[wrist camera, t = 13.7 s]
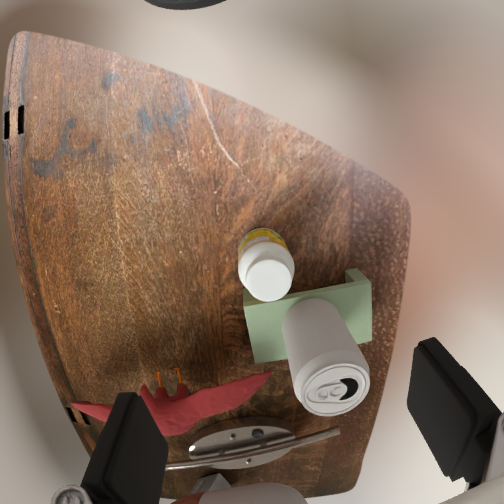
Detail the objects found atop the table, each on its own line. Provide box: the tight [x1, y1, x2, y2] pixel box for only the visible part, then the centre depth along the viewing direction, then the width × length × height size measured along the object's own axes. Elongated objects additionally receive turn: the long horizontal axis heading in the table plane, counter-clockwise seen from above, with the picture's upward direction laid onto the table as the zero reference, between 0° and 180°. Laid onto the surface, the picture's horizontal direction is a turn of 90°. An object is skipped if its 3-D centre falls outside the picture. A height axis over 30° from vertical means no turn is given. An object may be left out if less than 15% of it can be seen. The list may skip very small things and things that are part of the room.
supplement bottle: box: [238, 228, 295, 302], centre depth 33 cm, size 5×5×10 cm
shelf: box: [243, 268, 372, 364], centre depth 37 cm, size 14×8×5 cm, turn 100°
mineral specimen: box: [189, 473, 230, 495], centre depth 46 cm, size 7×9×8 cm
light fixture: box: [165, 416, 340, 504], centre depth 36 cm, size 11×22×34 cm
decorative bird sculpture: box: [71, 367, 273, 436], centre depth 38 cm, size 28×9×15 cm
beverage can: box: [282, 298, 370, 416], centre depth 29 cm, size 6×6×12 cm
